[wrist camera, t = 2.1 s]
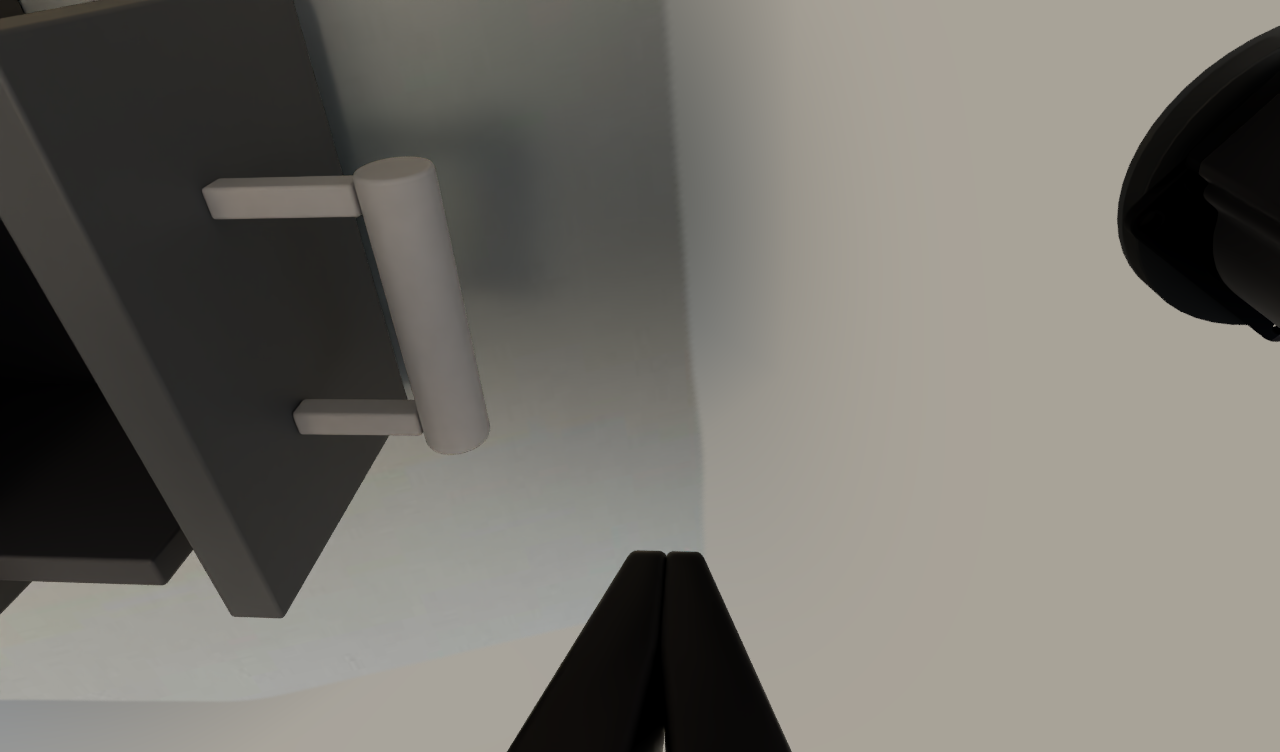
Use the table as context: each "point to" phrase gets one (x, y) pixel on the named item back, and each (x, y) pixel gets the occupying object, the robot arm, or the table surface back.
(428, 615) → the table surface
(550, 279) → the table surface
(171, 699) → the table surface
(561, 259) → the table surface
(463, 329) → the drawer
